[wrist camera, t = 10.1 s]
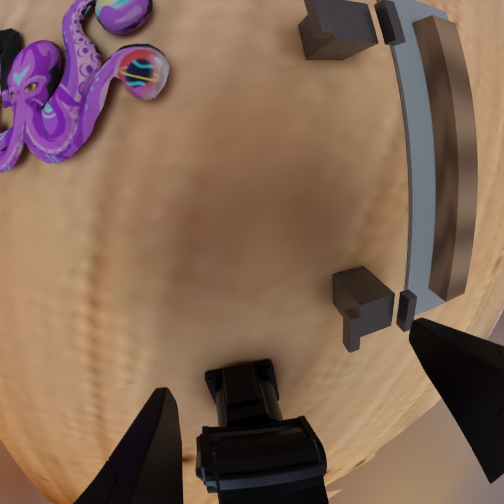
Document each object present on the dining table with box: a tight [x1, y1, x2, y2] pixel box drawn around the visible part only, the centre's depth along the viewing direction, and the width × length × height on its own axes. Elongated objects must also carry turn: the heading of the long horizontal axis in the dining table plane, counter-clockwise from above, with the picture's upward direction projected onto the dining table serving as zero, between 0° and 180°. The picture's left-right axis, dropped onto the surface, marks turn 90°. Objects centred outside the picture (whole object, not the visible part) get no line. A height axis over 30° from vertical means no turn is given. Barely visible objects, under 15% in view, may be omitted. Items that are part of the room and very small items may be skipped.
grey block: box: [298, 0, 406, 60], centre depth 13 cm, size 3×6×6 cm, turn 100°
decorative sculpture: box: [0, 0, 170, 172], centre depth 12 cm, size 23×4×15 cm
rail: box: [412, 15, 478, 302], centre depth 19 cm, size 26×3×3 cm, turn 10°
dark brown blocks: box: [332, 266, 417, 353], centre depth 21 cm, size 3×6×6 cm, turn 99°
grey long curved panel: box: [377, 0, 449, 316], centre depth 21 cm, size 32×9×1 cm, turn 10°
